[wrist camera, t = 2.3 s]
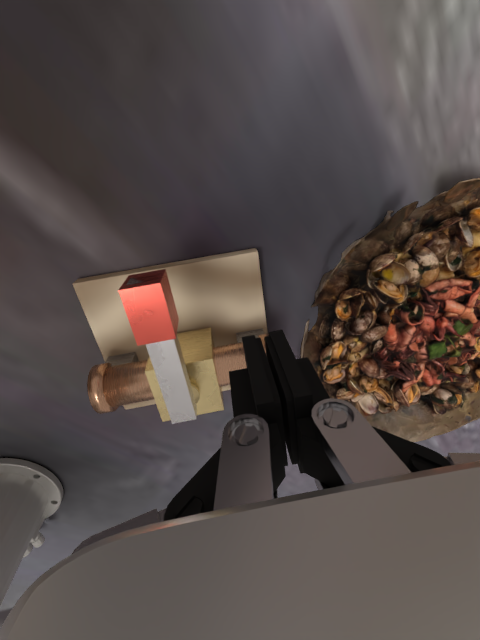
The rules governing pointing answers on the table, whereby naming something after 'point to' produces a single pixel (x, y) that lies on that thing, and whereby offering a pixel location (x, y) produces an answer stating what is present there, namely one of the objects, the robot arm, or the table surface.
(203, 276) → the beige board
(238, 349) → the valve pipe
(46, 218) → the table surface
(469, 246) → the food dish
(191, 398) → the valve lever
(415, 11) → the table surface
